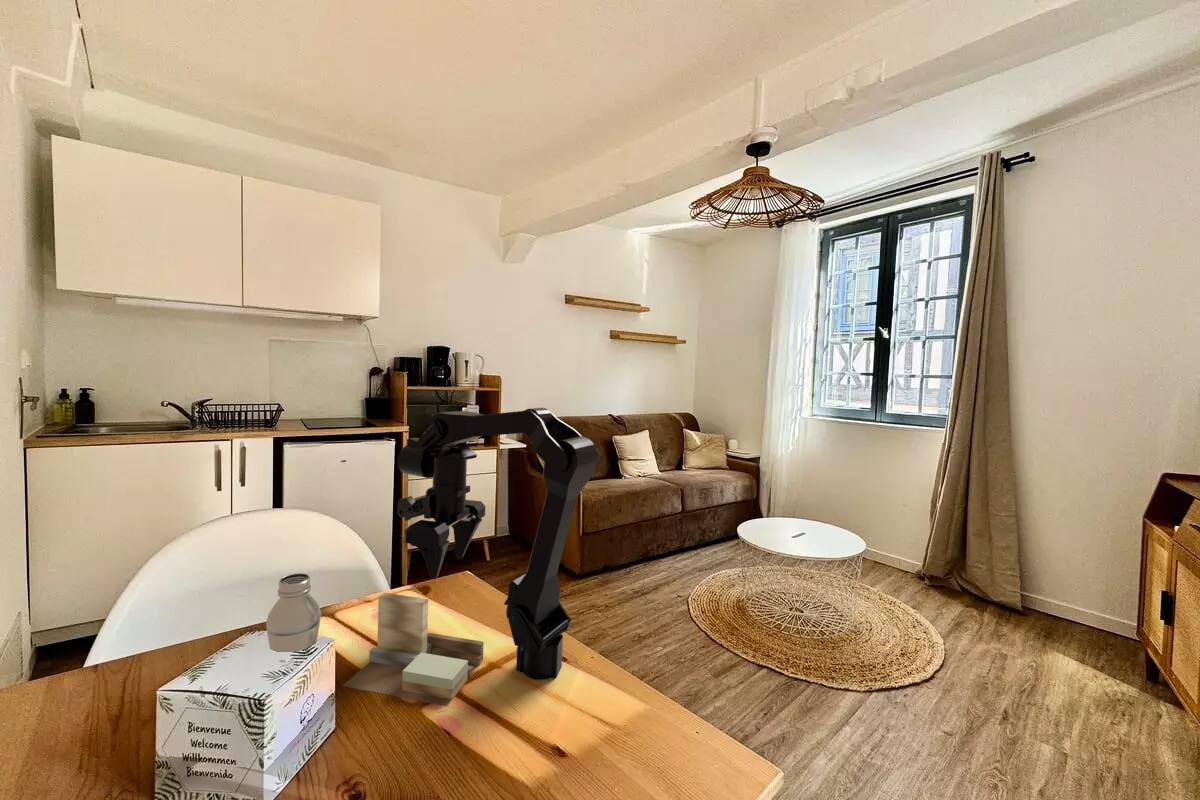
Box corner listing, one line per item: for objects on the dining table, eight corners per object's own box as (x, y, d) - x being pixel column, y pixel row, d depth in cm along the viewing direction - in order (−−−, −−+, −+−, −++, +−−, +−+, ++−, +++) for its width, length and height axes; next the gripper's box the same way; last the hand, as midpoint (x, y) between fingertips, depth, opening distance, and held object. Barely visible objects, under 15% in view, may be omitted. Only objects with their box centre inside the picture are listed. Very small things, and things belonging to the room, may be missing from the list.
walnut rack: (483, 665, 84) (484, 641, 83) (448, 712, 72) (448, 685, 72) (389, 648, 87) (390, 626, 87) (340, 692, 75) (341, 666, 75)
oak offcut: (467, 679, 78) (467, 669, 78) (451, 699, 73) (452, 689, 73) (420, 670, 80) (420, 661, 80) (402, 690, 75) (402, 680, 75)
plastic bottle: (261, 745, 64) (262, 593, 63) (268, 712, 70) (268, 572, 69) (319, 731, 67) (321, 585, 66) (321, 700, 73) (322, 566, 72)
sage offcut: (467, 669, 78) (468, 660, 78) (452, 689, 73) (452, 679, 73) (420, 661, 80) (421, 652, 79) (402, 680, 75) (402, 670, 75)
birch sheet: (426, 658, 83) (428, 599, 82) (421, 663, 82) (422, 603, 81) (383, 650, 85) (384, 592, 84) (377, 655, 83) (378, 596, 83)
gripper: (435, 468, 100) (433, 545, 101) (375, 489, 82) (374, 582, 83) (487, 473, 98) (485, 551, 99) (438, 496, 80) (435, 591, 81)
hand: (447, 567), depth 91 cm, fingers open, 9 cm apart
